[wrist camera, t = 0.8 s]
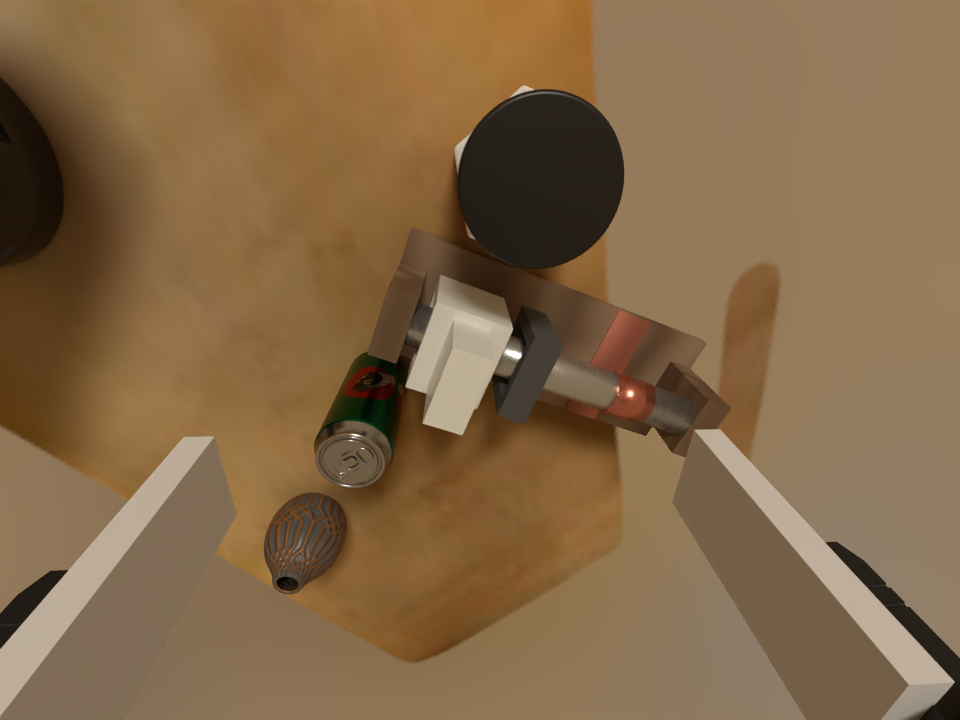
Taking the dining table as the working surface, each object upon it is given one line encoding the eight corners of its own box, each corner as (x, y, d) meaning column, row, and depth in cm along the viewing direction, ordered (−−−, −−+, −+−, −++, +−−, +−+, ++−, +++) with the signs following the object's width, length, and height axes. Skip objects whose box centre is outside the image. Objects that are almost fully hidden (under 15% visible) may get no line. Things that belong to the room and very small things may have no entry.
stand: (375, 341, 37) (357, 385, 31) (412, 227, 34) (400, 248, 27) (642, 429, 43) (676, 483, 36) (700, 339, 39) (751, 380, 32)
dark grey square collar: (491, 373, 36) (497, 415, 30) (522, 304, 34) (535, 337, 28) (514, 381, 36) (524, 424, 31) (546, 314, 34) (563, 347, 28)
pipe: (392, 330, 32) (385, 348, 30) (405, 289, 31) (399, 304, 28) (672, 424, 37) (690, 448, 34) (693, 393, 36) (713, 414, 33)
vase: (311, 542, 47) (281, 622, 39) (267, 499, 44) (225, 576, 36) (365, 516, 46) (346, 593, 38) (323, 470, 43) (293, 543, 35)
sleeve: (413, 348, 35) (397, 425, 25) (440, 274, 32) (433, 329, 23) (473, 368, 36) (479, 449, 26) (504, 298, 33) (522, 360, 24)
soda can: (338, 364, 38) (291, 450, 27) (388, 337, 37) (360, 415, 27) (372, 407, 40) (341, 504, 29) (420, 383, 39) (406, 473, 29)
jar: (499, 256, 35) (518, 306, 24) (429, 167, 32) (415, 179, 21) (596, 178, 33) (664, 194, 22) (531, 75, 30) (572, 35, 19)
